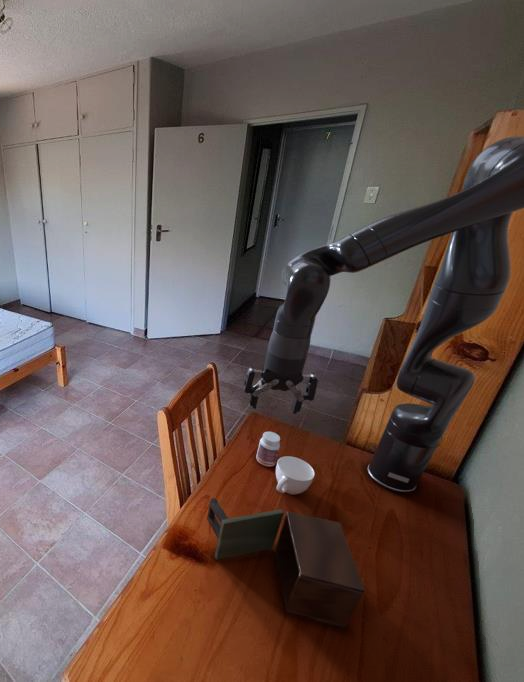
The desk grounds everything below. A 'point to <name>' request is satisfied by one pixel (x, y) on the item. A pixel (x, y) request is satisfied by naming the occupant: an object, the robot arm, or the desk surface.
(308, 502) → the desk surface
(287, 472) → the cup
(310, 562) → the cupboard
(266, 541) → the cupboard door
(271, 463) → the pill bottle
